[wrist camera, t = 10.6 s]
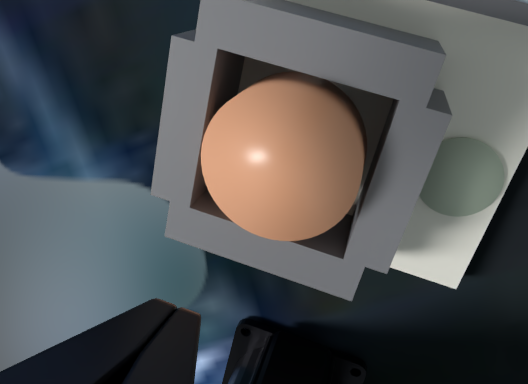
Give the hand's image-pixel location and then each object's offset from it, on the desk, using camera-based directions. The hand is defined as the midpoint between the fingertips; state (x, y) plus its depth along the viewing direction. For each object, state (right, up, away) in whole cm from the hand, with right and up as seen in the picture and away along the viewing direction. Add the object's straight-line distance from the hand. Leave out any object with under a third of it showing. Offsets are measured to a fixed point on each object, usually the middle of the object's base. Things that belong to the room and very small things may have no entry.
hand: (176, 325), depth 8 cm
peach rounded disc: (+2, +4, +9) cm, 10 cm away
